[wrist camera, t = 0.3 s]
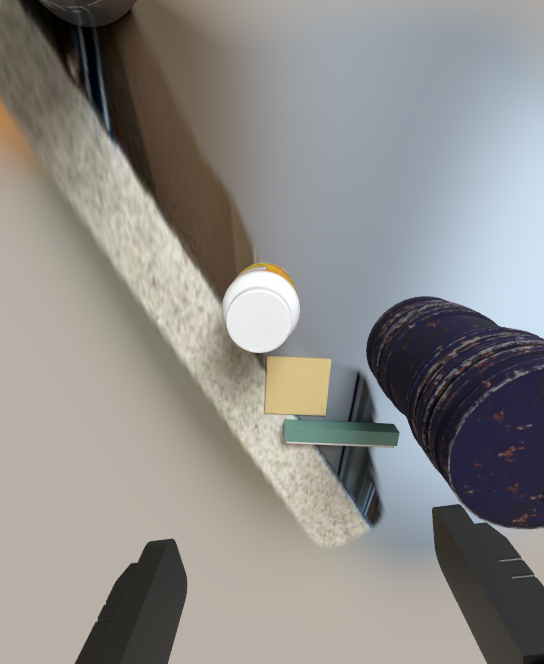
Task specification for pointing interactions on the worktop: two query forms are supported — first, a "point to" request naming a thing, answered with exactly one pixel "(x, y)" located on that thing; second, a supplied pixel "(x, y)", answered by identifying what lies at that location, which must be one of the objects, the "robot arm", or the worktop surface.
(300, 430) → the price rail
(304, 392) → the pad
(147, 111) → the worktop surface
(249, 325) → the supplement bottle
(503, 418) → the dark blue cylinder
